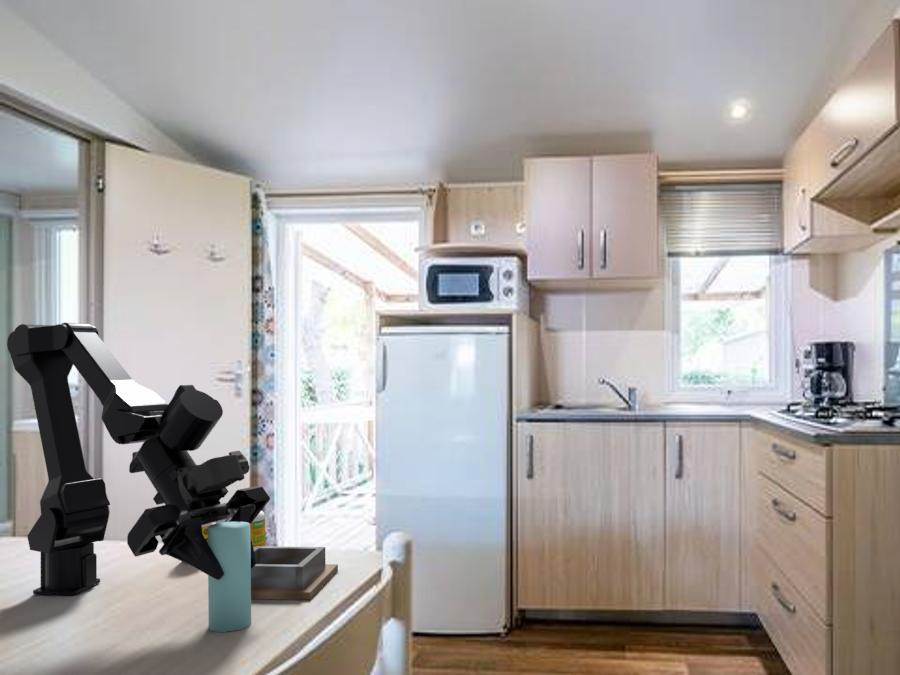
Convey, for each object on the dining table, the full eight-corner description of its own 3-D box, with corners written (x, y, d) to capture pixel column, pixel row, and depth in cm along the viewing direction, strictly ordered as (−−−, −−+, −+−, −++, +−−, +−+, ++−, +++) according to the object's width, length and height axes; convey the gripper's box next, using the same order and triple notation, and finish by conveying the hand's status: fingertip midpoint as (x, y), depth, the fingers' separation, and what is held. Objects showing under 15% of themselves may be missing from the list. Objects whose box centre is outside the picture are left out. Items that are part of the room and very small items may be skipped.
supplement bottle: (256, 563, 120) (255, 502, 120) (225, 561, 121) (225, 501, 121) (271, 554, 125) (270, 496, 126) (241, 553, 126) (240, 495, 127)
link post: (201, 631, 89) (200, 530, 89) (219, 617, 94) (218, 521, 94) (241, 632, 88) (240, 530, 89) (257, 618, 93) (256, 521, 94)
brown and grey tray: (210, 598, 102) (210, 568, 102) (250, 569, 116) (249, 543, 116) (310, 599, 100) (309, 569, 100) (337, 571, 114) (337, 544, 114)
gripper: (142, 439, 86) (211, 546, 80) (259, 426, 102) (323, 514, 96) (99, 503, 90) (162, 609, 84) (218, 480, 106) (277, 568, 100)
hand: (237, 571), depth 91 cm, fingers closed on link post, 5 cm apart
